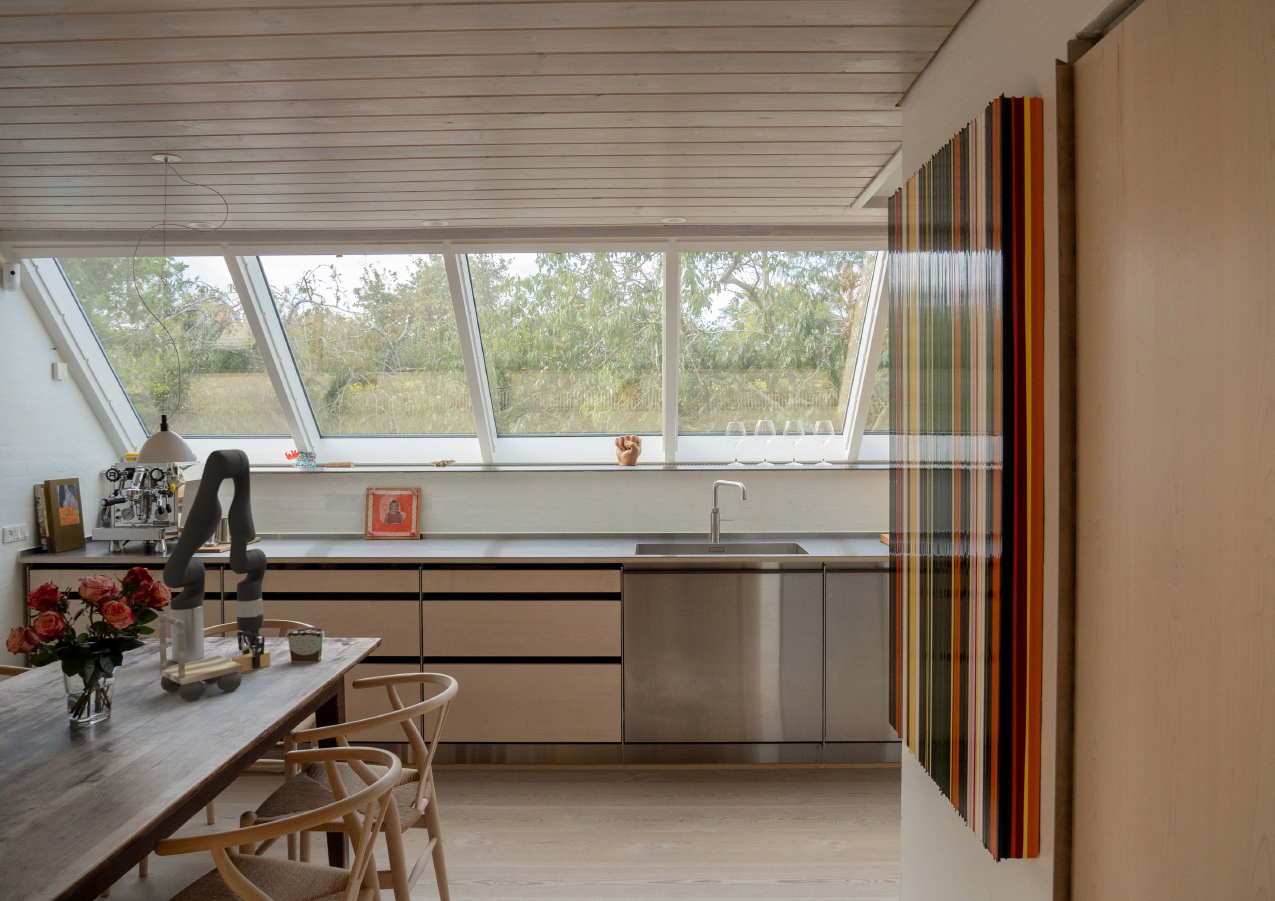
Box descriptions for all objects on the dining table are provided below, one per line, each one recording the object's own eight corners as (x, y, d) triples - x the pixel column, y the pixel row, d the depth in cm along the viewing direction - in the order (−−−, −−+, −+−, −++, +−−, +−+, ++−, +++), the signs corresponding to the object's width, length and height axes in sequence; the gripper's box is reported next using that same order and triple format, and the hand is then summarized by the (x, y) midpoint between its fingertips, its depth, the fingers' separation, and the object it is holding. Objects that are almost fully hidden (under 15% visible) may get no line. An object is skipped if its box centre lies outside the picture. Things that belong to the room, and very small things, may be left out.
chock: (232, 671, 241) (231, 657, 241) (264, 663, 249) (264, 649, 249) (237, 673, 239) (237, 659, 239) (270, 666, 246) (269, 652, 246)
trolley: (159, 693, 221) (156, 614, 220) (219, 678, 233) (216, 603, 233) (181, 705, 211) (179, 621, 210) (242, 689, 223) (240, 610, 223)
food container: (332, 656, 255) (331, 626, 255) (323, 662, 249) (322, 631, 249) (297, 656, 256) (296, 626, 256) (286, 661, 250) (286, 631, 250)
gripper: (227, 612, 245) (229, 665, 246) (248, 618, 236) (249, 673, 236) (251, 608, 251) (253, 659, 251) (272, 614, 242) (274, 667, 242)
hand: (251, 666), depth 244 cm, fingers open, 5 cm apart
